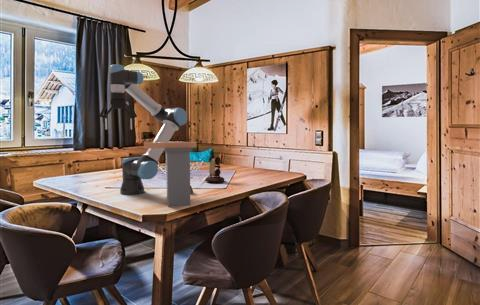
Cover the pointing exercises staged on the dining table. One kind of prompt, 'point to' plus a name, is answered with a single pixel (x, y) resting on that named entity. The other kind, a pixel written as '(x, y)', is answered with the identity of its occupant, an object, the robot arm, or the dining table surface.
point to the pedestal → (178, 176)
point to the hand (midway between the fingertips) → (119, 129)
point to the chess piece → (214, 173)
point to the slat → (169, 145)
